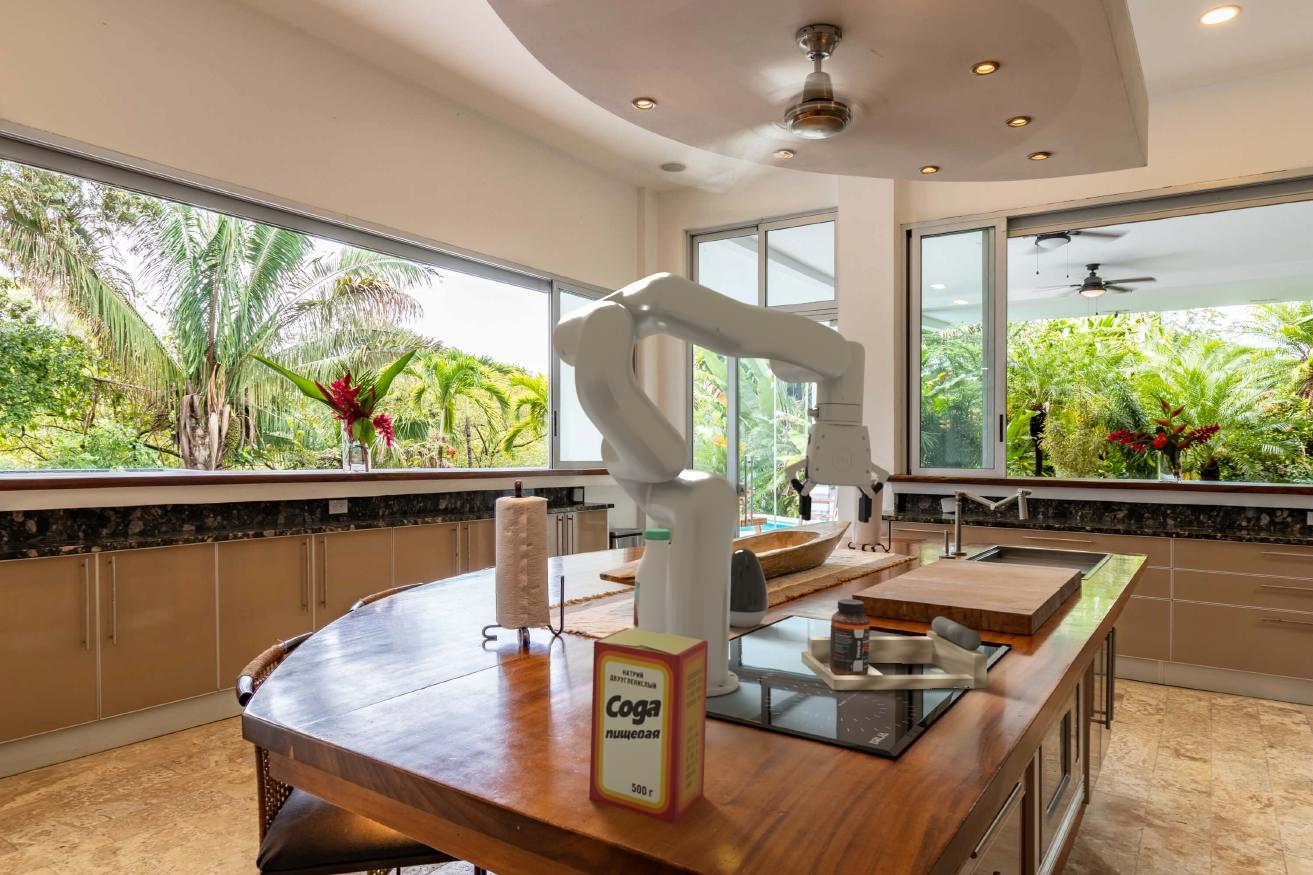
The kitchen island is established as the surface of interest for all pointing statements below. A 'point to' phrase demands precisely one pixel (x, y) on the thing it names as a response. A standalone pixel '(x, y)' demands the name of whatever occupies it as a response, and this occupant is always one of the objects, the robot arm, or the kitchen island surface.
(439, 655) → the kitchen island surface
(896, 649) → the bay
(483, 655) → the kitchen island surface
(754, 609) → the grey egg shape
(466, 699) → the kitchen island surface
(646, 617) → the milk bottle
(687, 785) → the baking soda box
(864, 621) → the supplement bottle
